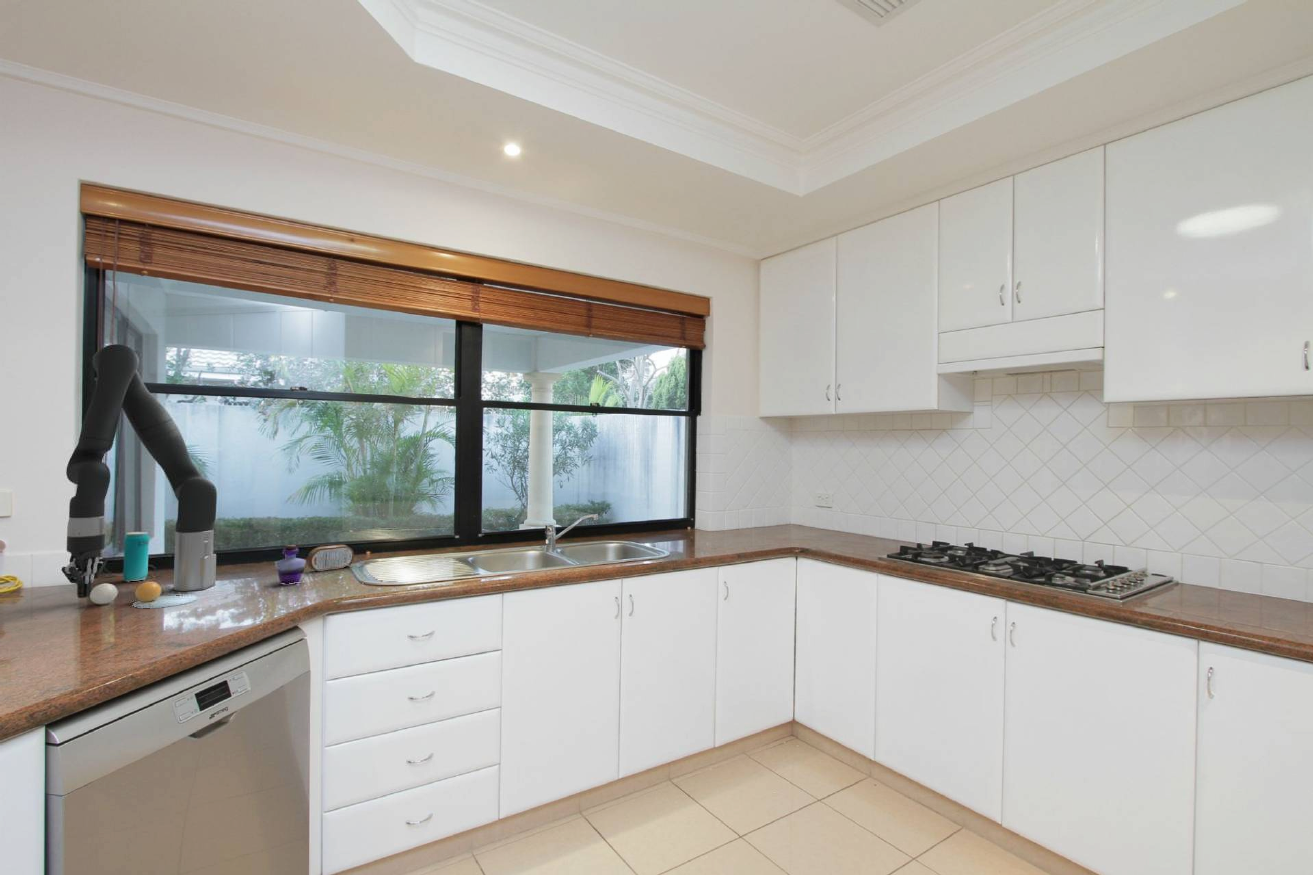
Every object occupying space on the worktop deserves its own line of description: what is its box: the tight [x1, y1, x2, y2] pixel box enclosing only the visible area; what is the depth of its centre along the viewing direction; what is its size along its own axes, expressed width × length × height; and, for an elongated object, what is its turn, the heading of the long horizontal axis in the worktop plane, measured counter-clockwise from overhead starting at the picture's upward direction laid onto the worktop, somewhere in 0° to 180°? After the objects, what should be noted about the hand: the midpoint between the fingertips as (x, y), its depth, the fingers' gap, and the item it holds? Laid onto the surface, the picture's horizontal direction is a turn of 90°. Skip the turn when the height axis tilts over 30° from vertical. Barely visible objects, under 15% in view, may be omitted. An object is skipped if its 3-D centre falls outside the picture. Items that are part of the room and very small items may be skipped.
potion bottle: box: [274, 544, 307, 584], centre depth 191 cm, size 9×9×12 cm
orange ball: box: [134, 581, 162, 602], centre depth 166 cm, size 6×6×6 cm
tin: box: [306, 544, 355, 571], centre depth 211 cm, size 15×3×8 cm, turn 141°
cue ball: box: [89, 582, 118, 605], centre depth 163 cm, size 6×6×6 cm
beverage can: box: [123, 531, 150, 583], centre depth 189 cm, size 6×6×15 cm
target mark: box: [131, 593, 198, 609], centre depth 167 cm, size 14×14×1 cm
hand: (84, 597), depth 164 cm, fingers closed
